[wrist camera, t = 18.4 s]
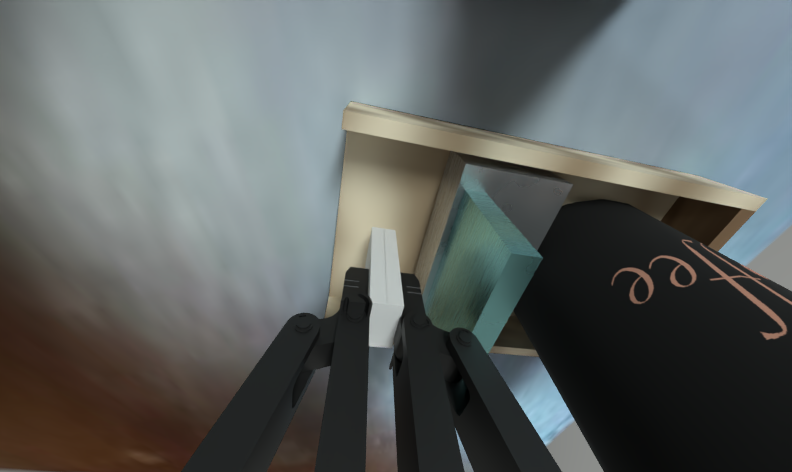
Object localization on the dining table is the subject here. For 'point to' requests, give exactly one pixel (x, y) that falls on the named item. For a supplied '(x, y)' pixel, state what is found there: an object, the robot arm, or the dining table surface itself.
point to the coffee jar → (661, 344)
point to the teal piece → (485, 241)
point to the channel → (434, 139)
